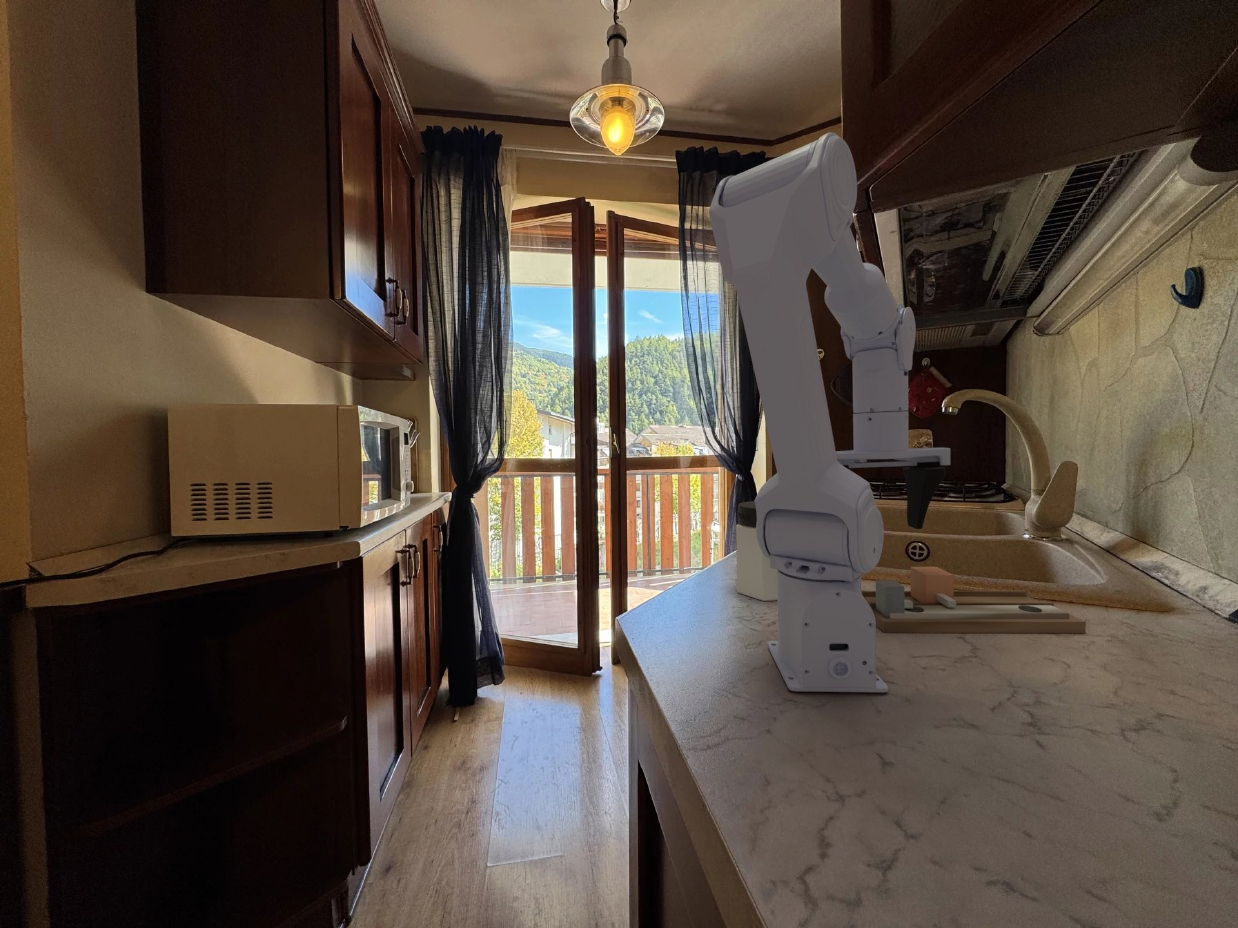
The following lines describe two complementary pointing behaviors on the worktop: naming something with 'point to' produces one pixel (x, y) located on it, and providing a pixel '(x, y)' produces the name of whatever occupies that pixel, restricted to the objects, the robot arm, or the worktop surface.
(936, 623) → the board
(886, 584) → the fixed leg
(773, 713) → the worktop surface
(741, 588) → the jar
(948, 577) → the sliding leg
